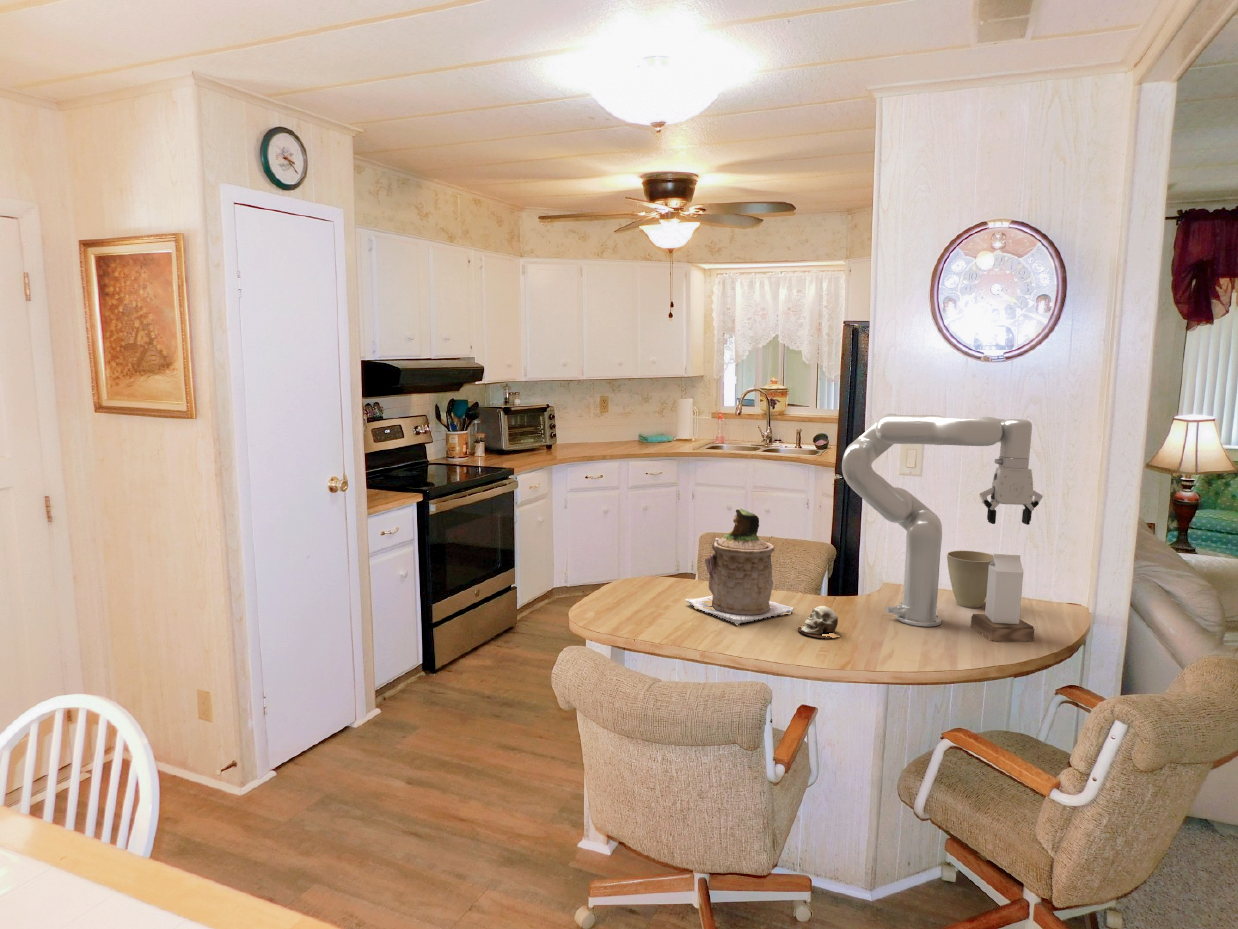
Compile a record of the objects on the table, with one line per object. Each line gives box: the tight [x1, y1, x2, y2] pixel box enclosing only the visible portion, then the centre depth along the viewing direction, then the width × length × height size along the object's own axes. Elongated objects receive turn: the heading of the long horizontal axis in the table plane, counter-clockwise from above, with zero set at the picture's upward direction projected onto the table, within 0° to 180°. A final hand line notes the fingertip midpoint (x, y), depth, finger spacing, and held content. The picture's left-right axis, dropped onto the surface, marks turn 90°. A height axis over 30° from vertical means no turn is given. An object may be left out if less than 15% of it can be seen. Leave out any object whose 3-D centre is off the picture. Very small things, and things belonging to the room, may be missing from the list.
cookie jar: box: [685, 508, 795, 625], centre depth 251 cm, size 25×25×32 cm
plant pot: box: [946, 550, 994, 609], centre depth 261 cm, size 15×15×16 cm
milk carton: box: [984, 553, 1024, 624], centre depth 233 cm, size 7×7×19 cm
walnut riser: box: [970, 613, 1035, 642], centre depth 234 cm, size 12×12×4 cm
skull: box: [797, 605, 839, 639], centre depth 233 cm, size 12×10×10 cm
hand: (1008, 523), depth 233 cm, fingers open, 9 cm apart
